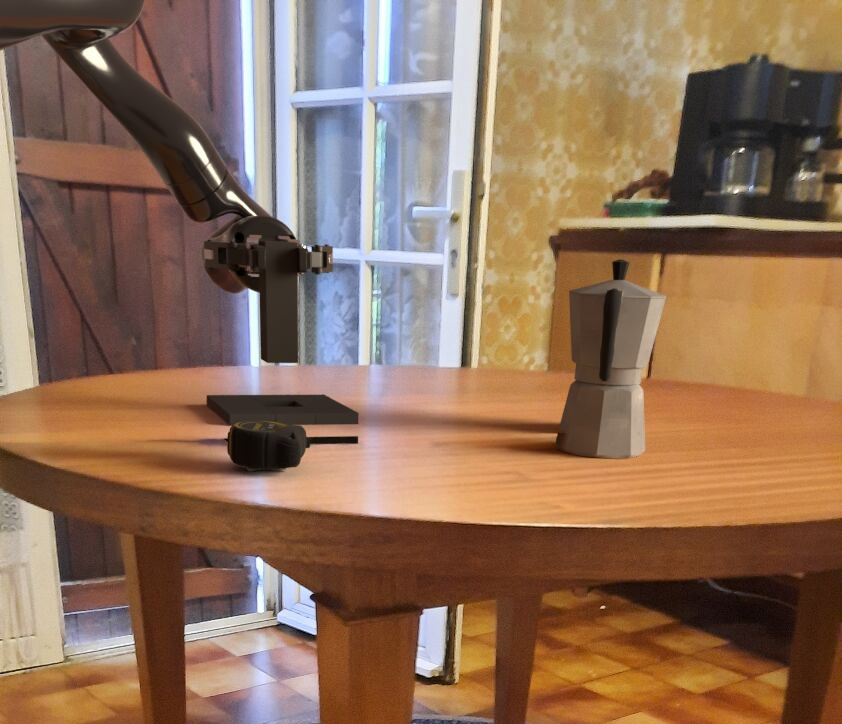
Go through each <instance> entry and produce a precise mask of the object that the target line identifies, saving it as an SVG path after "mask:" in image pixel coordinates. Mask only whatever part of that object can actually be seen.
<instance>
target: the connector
mask: <svg viewBox="0 0 842 724" xmlns="http://www.w3.org/2000/svg"><path fill="white" fill-rule="evenodd" d="M258 245H260V246H265V267H266V268H265V272H261V271H259V293H258V295H259V336H260V337H259V338H260V339H259V341H260V360H262V361H263V362H265V363H267V364H299V277H298V272H297V248H298V243H295V242H281V241H258Z"/></svg>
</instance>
